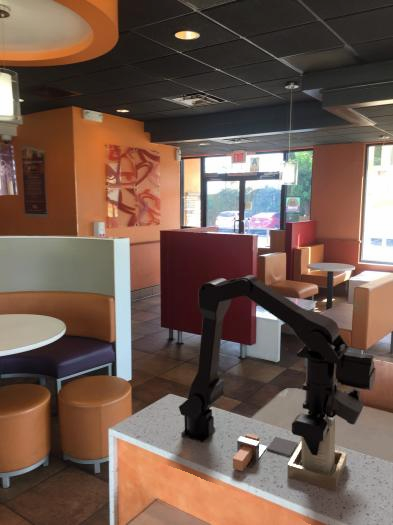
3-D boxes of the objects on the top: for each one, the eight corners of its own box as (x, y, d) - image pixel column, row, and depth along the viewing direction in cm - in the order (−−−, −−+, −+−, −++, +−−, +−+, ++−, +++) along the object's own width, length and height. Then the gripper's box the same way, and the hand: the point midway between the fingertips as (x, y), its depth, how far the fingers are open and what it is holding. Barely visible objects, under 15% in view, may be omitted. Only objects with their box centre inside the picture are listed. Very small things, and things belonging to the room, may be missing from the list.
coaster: (267, 450, 104) (267, 448, 103) (275, 438, 108) (275, 436, 108) (290, 456, 101) (290, 455, 101) (297, 444, 106) (297, 442, 105)
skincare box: (335, 470, 96) (337, 417, 94) (329, 481, 92) (331, 427, 90) (305, 461, 99) (306, 410, 97) (299, 472, 95) (300, 419, 93)
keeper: (232, 462, 99) (232, 445, 99) (248, 442, 107) (249, 426, 106) (252, 468, 97) (252, 451, 96) (267, 447, 105) (267, 431, 104)
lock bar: (231, 467, 97) (231, 452, 96) (247, 447, 104) (247, 432, 103) (243, 471, 95) (243, 456, 94) (259, 450, 102) (259, 436, 102)
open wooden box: (287, 477, 94) (287, 464, 93) (301, 452, 102) (301, 440, 102) (335, 492, 89) (336, 479, 88) (346, 465, 97) (346, 452, 97)
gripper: (351, 407, 80) (348, 485, 83) (368, 369, 96) (365, 436, 99) (291, 394, 86) (290, 467, 88) (317, 360, 101) (315, 423, 104)
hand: (318, 447), depth 95 cm, fingers open, 5 cm apart
